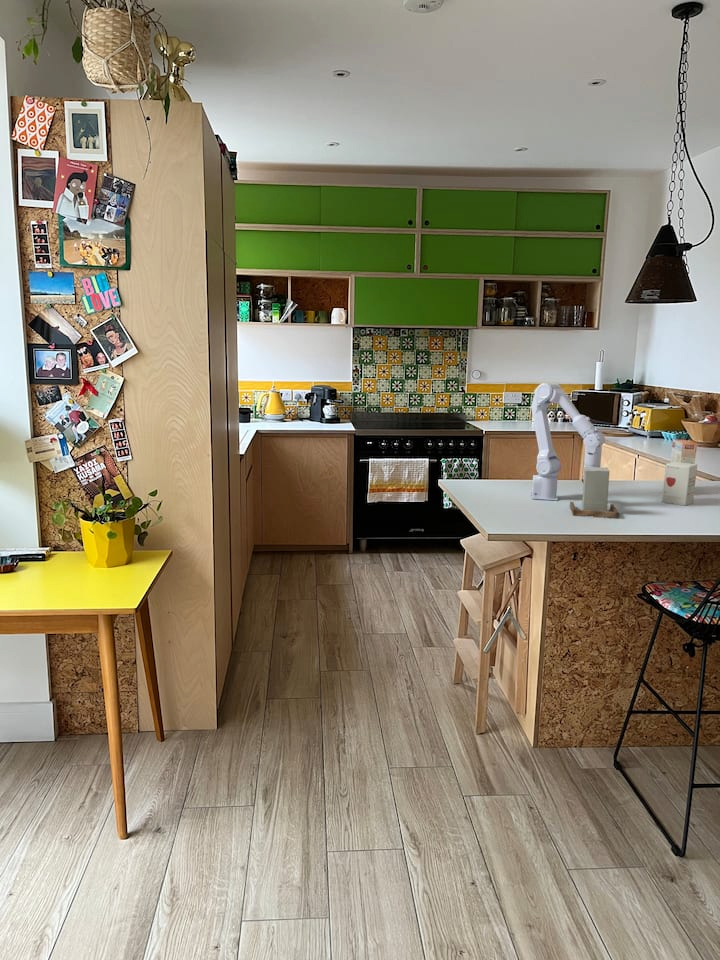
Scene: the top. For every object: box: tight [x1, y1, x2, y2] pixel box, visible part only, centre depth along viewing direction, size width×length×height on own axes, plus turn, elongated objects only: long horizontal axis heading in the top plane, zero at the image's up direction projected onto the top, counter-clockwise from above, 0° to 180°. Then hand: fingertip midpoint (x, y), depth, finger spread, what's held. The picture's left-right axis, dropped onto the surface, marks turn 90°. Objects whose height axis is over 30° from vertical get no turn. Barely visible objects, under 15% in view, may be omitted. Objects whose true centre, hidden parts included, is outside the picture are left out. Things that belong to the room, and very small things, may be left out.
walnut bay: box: [569, 501, 620, 519], centre depth 251 cm, size 15×14×2 cm
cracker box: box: [670, 438, 698, 464], centre depth 291 cm, size 14×6×21 cm, turn 171°
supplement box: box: [661, 461, 698, 506], centre depth 270 cm, size 9×9×15 cm
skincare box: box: [581, 466, 610, 512], centre depth 251 cm, size 8×7×16 cm
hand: (589, 500), depth 263 cm, fingers open, 7 cm apart
